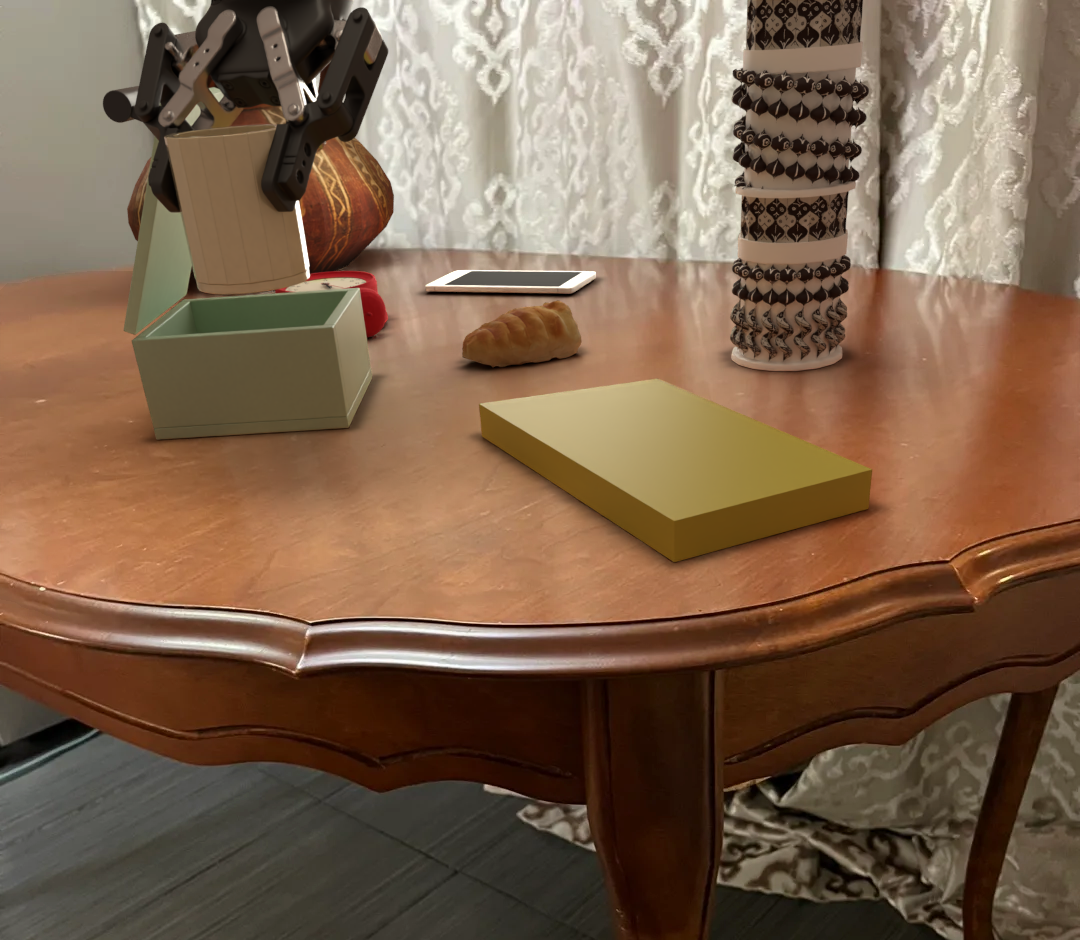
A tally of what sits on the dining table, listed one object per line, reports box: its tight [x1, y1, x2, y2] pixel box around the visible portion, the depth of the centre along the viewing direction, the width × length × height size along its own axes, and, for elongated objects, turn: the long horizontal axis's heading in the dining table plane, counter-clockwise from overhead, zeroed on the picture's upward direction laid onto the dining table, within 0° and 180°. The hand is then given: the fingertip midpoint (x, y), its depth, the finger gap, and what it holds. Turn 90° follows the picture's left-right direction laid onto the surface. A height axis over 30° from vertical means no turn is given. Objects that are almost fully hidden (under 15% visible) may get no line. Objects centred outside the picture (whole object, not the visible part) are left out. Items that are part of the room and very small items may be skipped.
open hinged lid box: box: [131, 288, 373, 441], centre depth 81 cm, size 14×13×7 cm
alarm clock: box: [274, 270, 389, 339], centre depth 101 cm, size 10×6×15 cm
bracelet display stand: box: [729, 0, 870, 372], centre depth 79 cm, size 9×9×25 cm
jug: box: [126, 63, 395, 274], centre depth 125 cm, size 30×30×25 cm
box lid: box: [102, 85, 224, 336], centre depth 75 cm, size 14×13×5 cm
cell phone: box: [425, 269, 597, 295], centre depth 114 cm, size 8×16×1 cm, turn 69°
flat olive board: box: [478, 378, 873, 563], centre depth 66 cm, size 12×2×24 cm
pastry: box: [461, 299, 583, 368], centre depth 90 cm, size 9×7×4 cm
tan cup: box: [164, 124, 310, 295], centre depth 60 cm, size 6×6×8 cm
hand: (221, 201), depth 58 cm, fingers closed on tan cup, 6 cm apart
